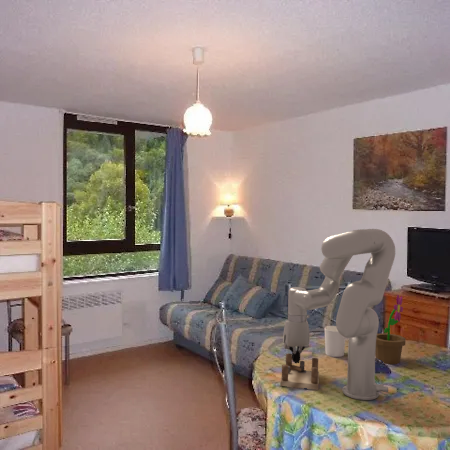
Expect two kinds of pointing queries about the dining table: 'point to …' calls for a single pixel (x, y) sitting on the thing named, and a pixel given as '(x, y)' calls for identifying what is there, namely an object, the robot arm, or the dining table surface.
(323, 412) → the dining table surface
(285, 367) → the stool
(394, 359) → the flowerpot
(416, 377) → the dining table surface
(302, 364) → the hinged leg
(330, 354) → the white paper cup
